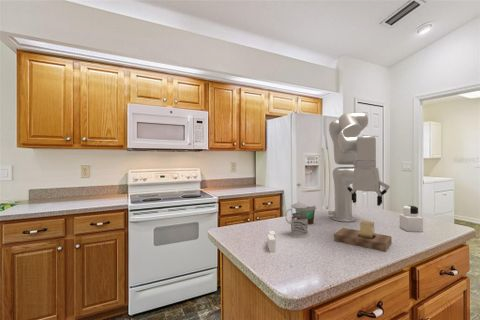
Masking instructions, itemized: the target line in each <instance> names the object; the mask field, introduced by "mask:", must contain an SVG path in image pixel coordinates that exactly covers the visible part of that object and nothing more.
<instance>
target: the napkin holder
mask: <svg viewBox="0 0 480 320" xmlns="http://www.w3.org/2000/svg"><path fill="white" fill-rule="evenodd" d="M276 235H277V234H276V233H275V231H274V230H268V234H267V236H266V237H267V248H269V249H268V252H269V251H270V252H269V253H275V252H276V246H275V245H277V244H276V241H277V240H276V237H277V236H276Z"/></svg>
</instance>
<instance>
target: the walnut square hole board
mask: <svg viewBox="0 0 480 320" xmlns="http://www.w3.org/2000/svg"><path fill="white" fill-rule="evenodd" d="M333 236H334V237H333V238H334V239H333V240H334V242H339V243H344V244H349V245H353V246H357V247H363V248H366V249H367V248H368V249H372V250H378V251H382V252H387V251H388V249H389V248H390V246H391V245H392V244H393V243H392V239H393V237H392V236H391V235H387V234H381V233H375V232H374V239H369V238H364V237H360V229H351V228H348V227H347V228H346V227H342V228H340V229H339V230H338V231H336V232H335V233H333Z"/></svg>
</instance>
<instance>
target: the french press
mask: <svg viewBox="0 0 480 320" xmlns="http://www.w3.org/2000/svg"><path fill="white" fill-rule="evenodd" d="M296 186H297V187H301V186H302V185H301V183H298V182H297V184H296ZM290 207H291V208H289V209H287V210H286V212H285V214H284V215H285V220H286V222H287V224H289V225H291V226H290V229H291V230H290V232H289V235H290V236H291V237H293V238H294V237H295V238H308V237H310V236H311V234H310V233H309V231H308V230H309V228H308V227H309V224H308V218H307V217H305V216H307V215H306V214H304V213H300V212H299V213H296V212H293V213H292V209H294V208H296V209H306V208H307V207H308V205H307V204H305V203H301V202H296V203H293V204H292V205H291V206H290ZM296 209H295V210H296ZM289 211H290V212H291V213H292V214H291V218H290V219H291V222H290V221H288V219H287V213H288V212H289ZM297 218H300V219H302V220H299V219H297ZM302 223H303V224H302Z"/></svg>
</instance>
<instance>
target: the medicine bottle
mask: <svg viewBox="0 0 480 320" xmlns="http://www.w3.org/2000/svg"><path fill="white" fill-rule="evenodd" d="M402 211H403V213H400V214H399V228H400V229H401V230H404V231H406V232H409V233H411V232H412V233H423V232H424V227H423V226H424V224H423V223H424V220H423V219H424V218H423V217H421V216H419V207H418V206H415V205H404V206H403V210H402Z"/></svg>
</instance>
